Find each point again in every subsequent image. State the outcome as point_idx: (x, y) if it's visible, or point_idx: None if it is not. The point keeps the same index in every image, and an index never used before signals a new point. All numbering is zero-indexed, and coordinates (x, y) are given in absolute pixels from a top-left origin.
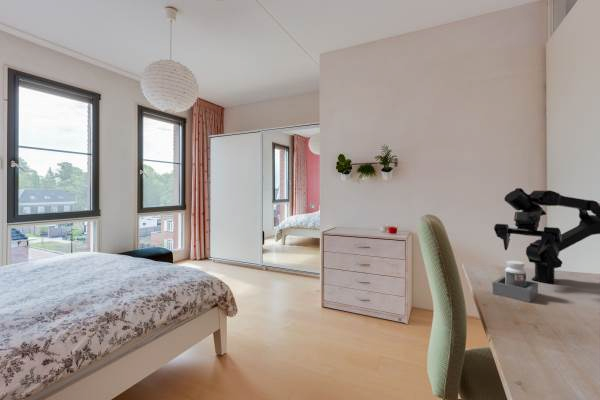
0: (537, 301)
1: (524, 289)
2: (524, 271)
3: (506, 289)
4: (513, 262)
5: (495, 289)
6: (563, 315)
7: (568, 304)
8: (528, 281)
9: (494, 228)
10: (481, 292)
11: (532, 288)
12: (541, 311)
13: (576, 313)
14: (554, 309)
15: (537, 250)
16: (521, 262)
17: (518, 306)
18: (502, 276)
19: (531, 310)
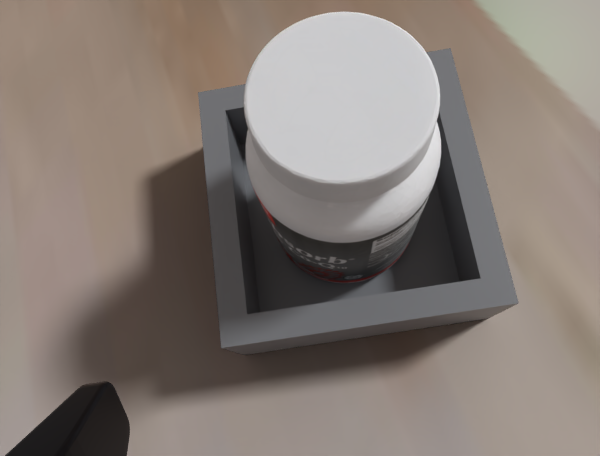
0: (198, 200)
1: (230, 91)
2: (247, 135)
3: None
4: (350, 63)
5: None
6: (47, 97)
7: (57, 308)
8: (288, 319)
9: None
10: (491, 65)
11: (207, 176)
12: (135, 60)
13: (5, 182)
14: (96, 146)
15: (80, 413)
16: (285, 137)
17: (237, 30)
18: (510, 284)
19: (172, 32)
